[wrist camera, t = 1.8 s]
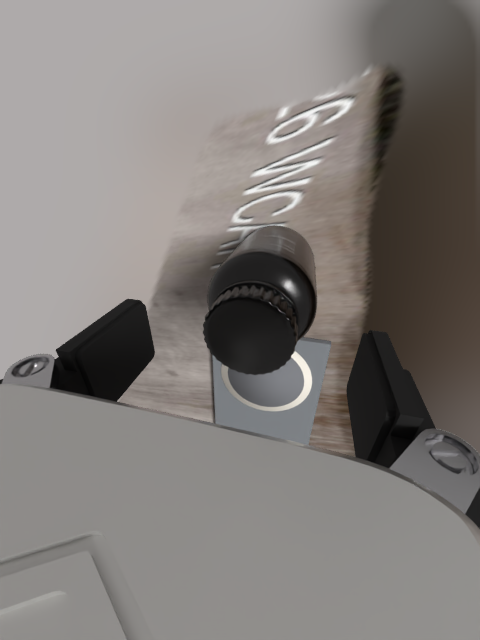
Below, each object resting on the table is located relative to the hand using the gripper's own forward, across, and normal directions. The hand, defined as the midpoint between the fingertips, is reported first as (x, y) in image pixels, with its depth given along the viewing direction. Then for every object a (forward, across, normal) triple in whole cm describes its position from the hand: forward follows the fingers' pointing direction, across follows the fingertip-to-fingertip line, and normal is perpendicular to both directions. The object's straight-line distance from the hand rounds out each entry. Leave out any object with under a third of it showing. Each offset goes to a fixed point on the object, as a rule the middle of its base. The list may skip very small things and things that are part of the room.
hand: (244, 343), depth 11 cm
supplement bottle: (+14, 0, +1) cm, 14 cm away
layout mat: (+13, 0, +16) cm, 21 cm away
